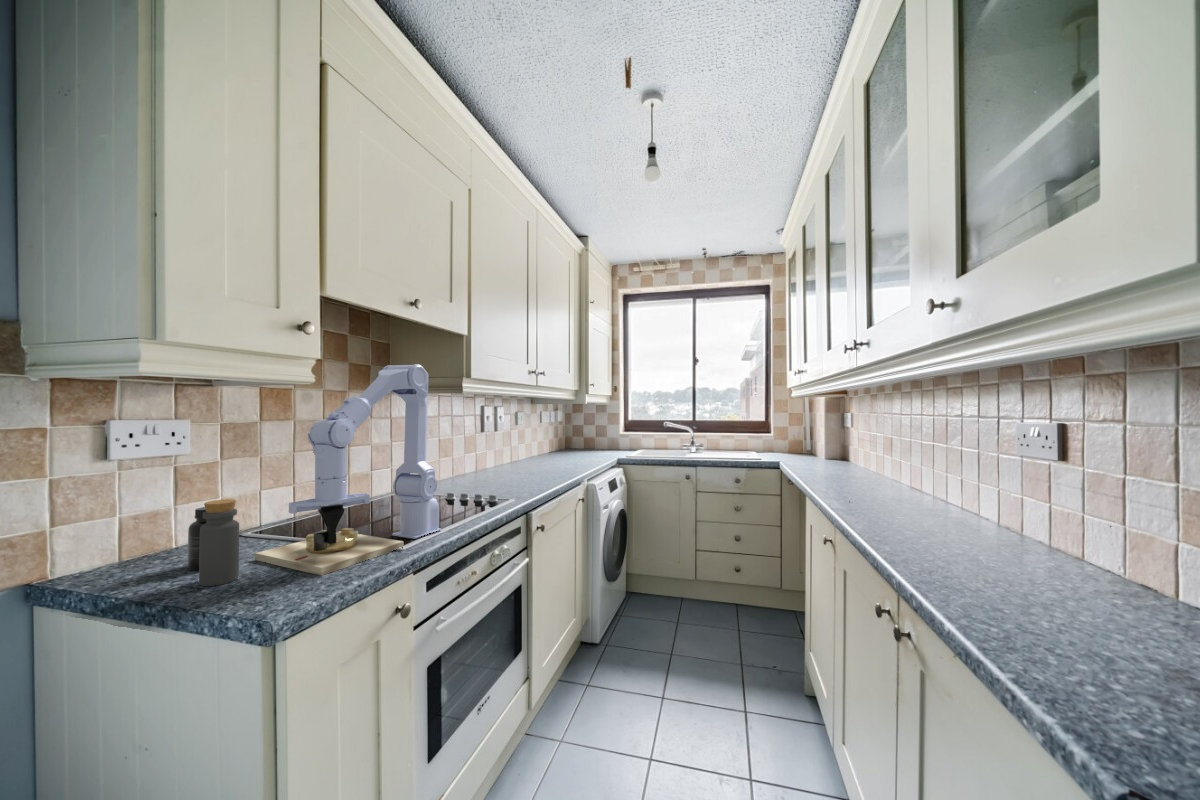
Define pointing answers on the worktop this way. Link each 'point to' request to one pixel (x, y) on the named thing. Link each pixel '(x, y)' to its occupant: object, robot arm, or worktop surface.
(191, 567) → the supplement bottle
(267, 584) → the worktop surface
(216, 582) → the bottle
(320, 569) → the base board
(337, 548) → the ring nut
